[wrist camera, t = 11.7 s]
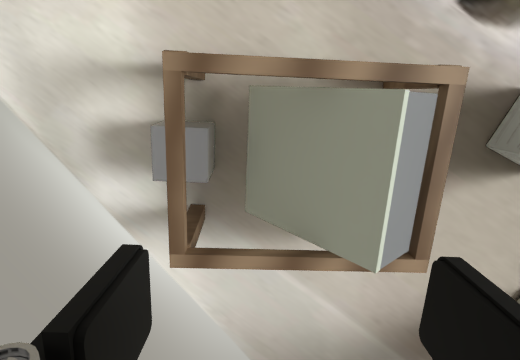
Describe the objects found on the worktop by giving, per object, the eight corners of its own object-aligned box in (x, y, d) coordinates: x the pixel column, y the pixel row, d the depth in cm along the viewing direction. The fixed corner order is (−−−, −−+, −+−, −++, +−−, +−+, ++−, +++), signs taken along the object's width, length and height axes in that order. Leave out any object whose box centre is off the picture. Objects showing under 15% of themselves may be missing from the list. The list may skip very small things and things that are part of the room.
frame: (400, 73, 33) (472, 64, 22) (376, 222, 37) (428, 274, 27) (188, 62, 32) (159, 47, 21) (191, 217, 36) (167, 269, 26)
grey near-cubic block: (150, 125, 28) (167, 119, 33) (152, 180, 29) (168, 165, 35) (208, 128, 28) (215, 122, 34) (207, 182, 29) (214, 167, 35)
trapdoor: (438, 92, 23) (405, 89, 19) (408, 251, 26) (375, 273, 23) (287, 88, 34) (249, 85, 30) (280, 201, 37) (245, 211, 34)
